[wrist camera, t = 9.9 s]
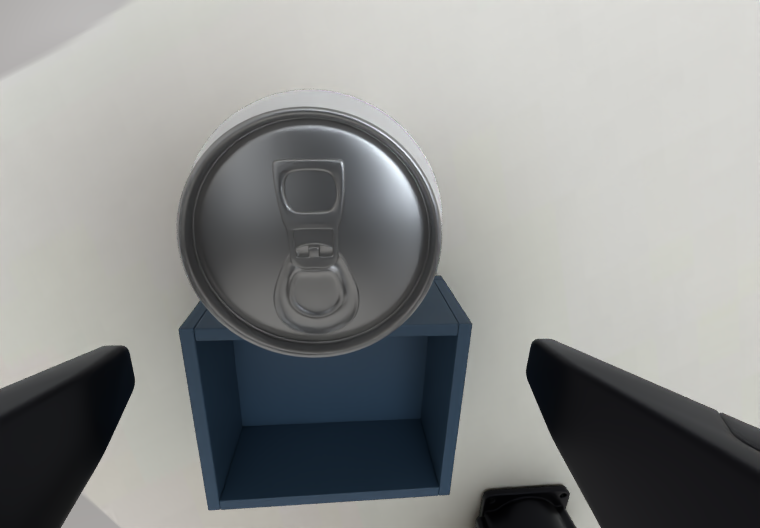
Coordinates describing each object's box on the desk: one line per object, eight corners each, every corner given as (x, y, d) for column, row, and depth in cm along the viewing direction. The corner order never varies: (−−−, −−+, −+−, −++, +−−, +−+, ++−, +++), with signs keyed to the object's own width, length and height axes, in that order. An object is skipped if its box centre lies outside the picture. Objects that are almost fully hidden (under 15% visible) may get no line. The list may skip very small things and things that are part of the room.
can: (269, 236, 20) (183, 381, 9) (255, 102, 18) (119, 79, 7) (392, 233, 21) (451, 366, 10) (393, 103, 19) (474, 82, 8)
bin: (441, 274, 22) (472, 323, 17) (427, 418, 26) (449, 495, 20) (217, 276, 21) (177, 329, 16) (235, 426, 24) (207, 511, 19)
